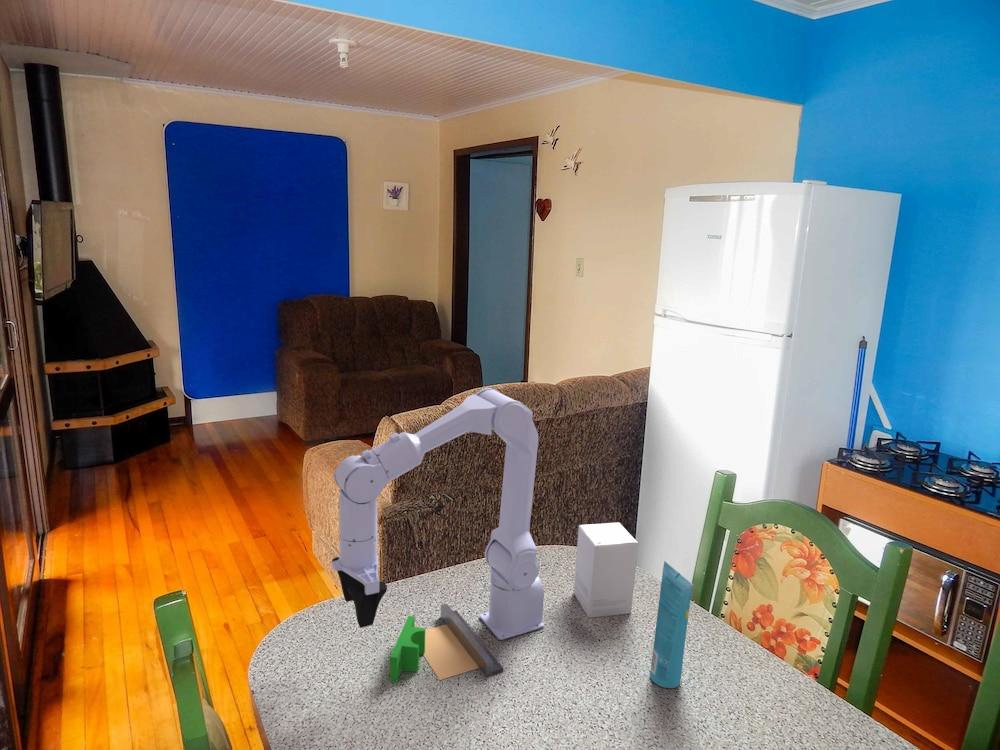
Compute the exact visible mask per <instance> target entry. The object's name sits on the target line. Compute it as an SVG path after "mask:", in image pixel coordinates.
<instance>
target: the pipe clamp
mask: <svg viewBox="0 0 1000 750" xmlns="http://www.w3.org/2000/svg"><path fill="white" fill-rule="evenodd" d="M415 618H416V616H414V615H408V616H407V618H406V621H405V623H404V625H403V627H402V630H401V632H400V634H399V636H398V638H397V640H396V643H395V645H394V647H393V650H392V651H391V654H390V657H389V682H390V683H398V680H399V678H400V676H401V674H402V671H405V672H406V671H407V672H414V673H418V672H419V669H420V668H419V667H420V659H419V658H420V655H423V654H424V653H425V630H426V628H425V627H424V628H423V627H415V624H416V623H415V622H416V619H415Z"/></svg>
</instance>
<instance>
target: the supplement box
mask: <svg viewBox="0 0 1000 750" xmlns="http://www.w3.org/2000/svg"><path fill="white" fill-rule="evenodd" d="M577 530H578V531H577V542H576V543H577V545H576V556H575V557H576V559H575V570H574V571H575V573H574V585H573V595H574V596H575V598H576V599H577V601H578V603H579V604H580V607H582V609H583V611H584V612H585V613H586V616H587V617H588V618H590V619H591V618H597V617H599V618H600V617H608V616H609V617H610V616H617V615H619V616H620V615H629V613H630V615H631V614H632V610H633V609H632V608H633V597H634V589H635V588H634V587H635V579H636V571H637V570H636V568H637V560H638V548H639V542H638V541H637V540H636V539H635V538H634V537H633V535H632V534H630V532H628V530H627V529H626V528H625V527H624V526H623V525H622V523H620V522H619V521H618V522H605V523H592V524H591V523H590V524H586V523H585V524H579V525H578V529H577Z"/></svg>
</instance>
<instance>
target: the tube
mask: <svg viewBox="0 0 1000 750" xmlns="http://www.w3.org/2000/svg"><path fill="white" fill-rule="evenodd" d="M693 587H694V583H692V582H690V580H688V579H687V578H686V577H685V576H684V575H682V574H681V573H680V572H679V571H678V570H676V569H675V568H674V567H673V566H672V565H670V564H669V563H668V562H667V561H666V560H663V566H662V576H661V583H660V590H659V601H658V606H657V607H658V609H657V614H656V615H657V616H656V624H655V632H654V633H655V634H654V642H653V648H652V655H651V662H650V663H651V664H650V671H649V677H650V680H651V681H652V682H653V683H654V684H656V686H659V687H661V688H665V689H674V688H677V687H678V686H680V684H681V680H682V672H683V663H684V662H683V661H684V654H685V645H686V638H687V628H688V622H689V614H690V605H691V598H692V591H693Z"/></svg>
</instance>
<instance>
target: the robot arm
mask: <svg viewBox="0 0 1000 750" xmlns="http://www.w3.org/2000/svg"><path fill="white" fill-rule="evenodd" d="M533 414H534V412H533V410H531V409H529V408H528V406H526V405H525V404H524V403H523V402H521V401H519V400H515V399H513V398H511V397H509V396H507V395H505V394H503V393H500V391H498V390H497V389H494V388H491V387H490V388H489V387H485V388H483V389H480V390H479V391H478V392H476V393H474V394H471V395H469V396H466V398H465V399H464V400H463V401H462V403H461V404H459V405H458V406H457V407H455V408H452V410H450V411H449V412H447V413H445V414H444V415H442V416H441V417H439V418H437V419H436V420H434V421H432V422H431V423H430V424H428V425H427V426H425V427H423V428H422V429H420V430H418V431H417V432H415V433H410V432H409V433H408V432H406V431H403V432H400V433H397V432H393V433H392V434H390V435H389V436H388V437H389V439H387V440H386V441H384V442H382V443H380V444H378V445H377V446H374V447H373V448H372V449H366V450H365V449H364V450H363V451H361V455H358V454H357V455H349V456H347V457H345V458H344V459H343V460H341V462H339V465H338V466H337V467H336V469H335V472H333V480H334V482H335V484H336V485H337V486H338V488H340V490H339V505H338V506H339V507H338V512H339V513H338V515H339V516H338V517H339V518H338V521H339V523H338V524H339V525H338V527H339V530H338V531H339V533H338V535H339V540H338V541H339V556H337V557H333V558H332V559H331V568H332V569H333V570H334V572H335V571H336V572H337V574H338V578H339V581H340V585H341V590H342V594H343V598H344V601H346V603H347V602H352V601H353V604H354V609H355V615H356V620H357V624H358V626H359V628H366V627H369V626H373V624H374V622H375V618H376V614H377V611H378V608H379V605H380V602H381V601H382V599H383V597H384V595H385V594H386V593H387V590H388V586H387V584H386V583H385V580H384V581H380V579H379V577H378V574H379V555H378V497H379V496H380V494H381V493H382V491H383V488H384V487H385V486H387V485H388V483H390V482H392V481H394V480H395V479H397V478H399V477H400V476H402V475H404V474H405V473H408V472H409V471H411V470H413V469H414V468H416V467H418V466H419V465H421V464H422V463H423V460H424V457H425V454H426V453H428V452H430V451H432V450H433V449H435V448H438V447H440V446H442V445H445V444H446V443H447V442H450V441H451V440H454V439H456V438H459V437H460V436H462V435H464V434H466V433H470V432H471V433H476V434H483V435H487V436H492V431H494V433H495V434H496V435H497V436H499V438H500V439H501V440H502V441H503V442H504V443H505V454H504V465H503V476H502V484H501V485H502V487H501V498H500V508H499V521H498V527H496V528H494V529H493V530H491V532H490V540H489V542H488V544H487V545H486V547H485V551H484V558H485V561H486V563H487V564H488V565H489V566H490V570H489V572H490V584H489V606H488V607H489V609H488V611H486V612H484V613H481V614H479V619H480V620H482V622H483V623H484V624H485V625H486V626H487V628H488V629H489V630H490V631H491V632H492V633H493V635H494V636H495V637H496V638H497V639H498V641H499V640H500V641H502V640H506V639H510V638H512V637H516V636H520V635H522V634H526V633H528V632H533V631H536V630H540V629H543V628H544V627H545V623H544V622H543V612H544V611H543V610H544V600H545V599H544V598H545V592H544V591H545V590H544V584H543V583H542V579H541V578H540V577H539V574H540V564H539V563H540V562H539V561H538V559H537V551H538V549H537V546H536V544H535V542H534V539H533V537H532V535H531V533H530V526H531V519H532V517H531V516H532V507H533V499H534V498H533V497H534V486H535V477H536V476H535V475H536V467H537V458H538V457H537V456H538V447H539V433H538V430H537V428H536V425H535V423H534V420H533Z"/></svg>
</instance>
